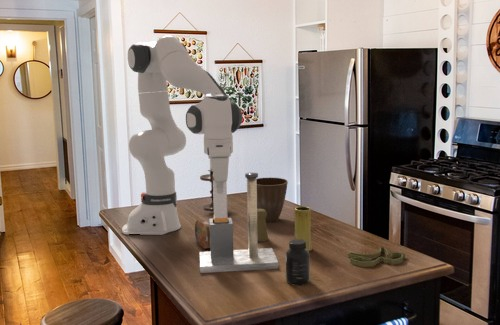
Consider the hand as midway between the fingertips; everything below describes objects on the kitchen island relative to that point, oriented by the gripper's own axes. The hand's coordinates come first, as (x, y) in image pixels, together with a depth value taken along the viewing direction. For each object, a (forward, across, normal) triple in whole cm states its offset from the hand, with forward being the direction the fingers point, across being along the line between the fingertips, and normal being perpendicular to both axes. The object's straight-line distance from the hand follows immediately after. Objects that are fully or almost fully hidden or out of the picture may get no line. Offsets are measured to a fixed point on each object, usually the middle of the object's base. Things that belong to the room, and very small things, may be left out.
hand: (219, 191), depth 173 cm
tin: (+24, -20, -5) cm, 32 cm away
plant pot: (+24, -49, +22) cm, 59 cm away
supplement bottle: (+24, +18, +21) cm, 36 cm away
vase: (+24, -10, +28) cm, 38 cm away
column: (+15, 0, 0) cm, 15 cm away
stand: (+24, 0, +5) cm, 24 cm away
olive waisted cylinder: (+24, -24, +15) cm, 37 cm away
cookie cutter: (+24, +4, +49) cm, 55 cm away
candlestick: (+24, -72, 0) cm, 76 cm away
